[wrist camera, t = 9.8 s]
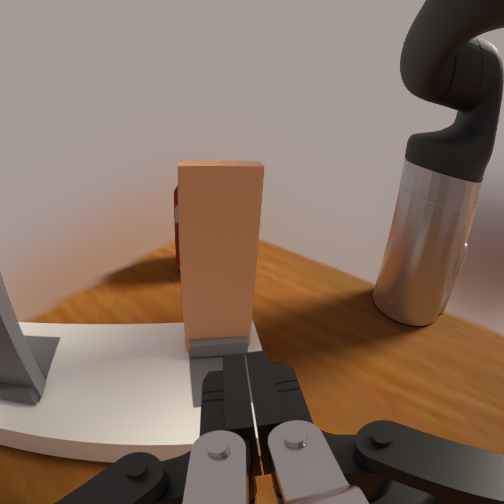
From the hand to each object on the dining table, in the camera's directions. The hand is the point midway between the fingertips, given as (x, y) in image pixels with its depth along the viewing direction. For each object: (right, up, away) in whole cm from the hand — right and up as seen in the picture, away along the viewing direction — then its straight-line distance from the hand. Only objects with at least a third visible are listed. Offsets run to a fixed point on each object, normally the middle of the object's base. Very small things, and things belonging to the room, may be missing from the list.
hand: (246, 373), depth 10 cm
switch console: (-10, -8, +11) cm, 17 cm away
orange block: (-3, -3, +14) cm, 15 cm away
